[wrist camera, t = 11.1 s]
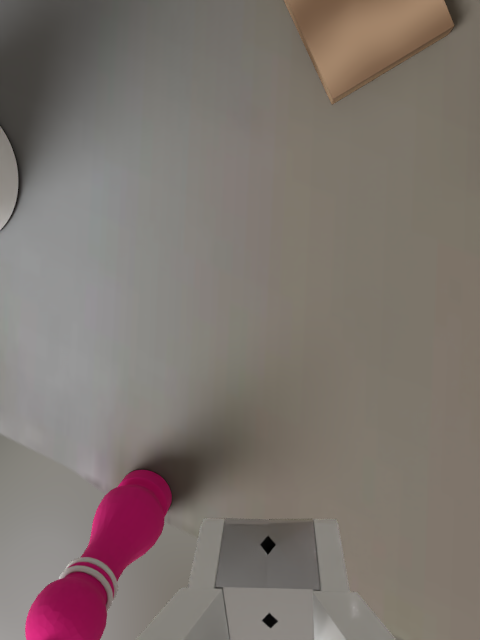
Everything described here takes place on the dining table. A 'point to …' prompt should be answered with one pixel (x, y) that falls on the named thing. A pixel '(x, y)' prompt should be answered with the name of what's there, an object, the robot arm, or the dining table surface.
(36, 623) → the pepper mill
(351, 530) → the dining table surface
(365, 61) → the wood and metal stand
